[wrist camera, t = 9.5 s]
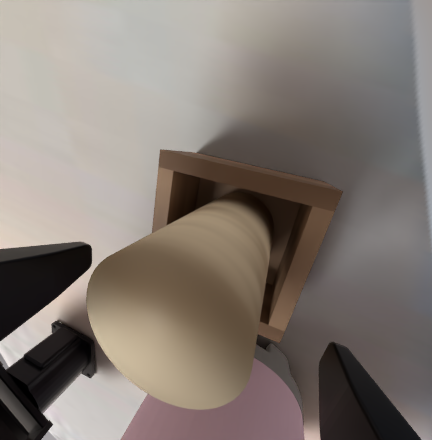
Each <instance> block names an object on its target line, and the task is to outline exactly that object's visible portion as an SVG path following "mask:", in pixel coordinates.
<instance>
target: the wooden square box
mask: <svg viewBox="0 0 432 440" xmlns="http://www.w3.org/2000/svg"><path fill="white" fill-rule="evenodd" d="M235 192H240V193H246V194H249V195H252V196H254V197H256V198H258V199H259V200H260V201H262V202H263V203H264V204H265V206H266V207H267V208H268V210H269V211H270V213H271V215H272V218H273V222H274V234H273V240H272V247H271V253H270V259H269V266H268V272H267V278H266V284H265V291H264V297H263V303H262V310H261V316H260V322H259V328H258V334H259V335H261V336H263V337H266V338H268V339H270V340H273V341H275V342H278V343H280V341H281V339H282V337H283V334H284V332H285V329H286V327H287V325H288V322H289V320H290V318H291V315H292V313H293V310H294V308H295V306H296V303H297V301H298V298H299V296H300V294H301V291H302V289H303V286H304V284H305V282H306V279H307V277H308V274H309V272H310V270H311V267H312V265H313V262H314V260H315V258H316V255H317V253H318V250H319V248H320V246H321V243H322V241H323V238H324V236H325V234H326V231H327V229H328V226H329V224H330V222H331V219H332V217H333V214H334V212H335V210H336V207H337V205H338V203H339V200H340V198H341V195H342V193H343V191H341V190H339V189H337V188H335V187H333V186H331V185H329V184H327V183H326V182H324V181H319V180H315V179H310V178H306V177H301V176H297V175H292V174H288V173H284V172H279V171H275V170H270V169H266V168H261V167H257V166H253V165H248V164H244V163H239V162H235V161H230V160H226V159H221V158H217V157H213V156H208V155H204V154H199V153H193V152H182V151H171V150H160V157H159V167H158V177H157V188H156V198H155V208H154V218H153V228H152V233H154V232H155V231H157V230H159V229H161V228H163V227H165V226H167V225H169V224H171V223H172V222H174V221H176V220H178V219H180V218H182V217H184V216H186V215H187V214H189V213H191V212H193V211H195V210H197V209H199V208H201V207H202V206H204V205H206V204H208V203H210V202H212V201H214V200H216V199H218V198H219V197H221V196H223V195H226V194H229V193H235Z"/></svg>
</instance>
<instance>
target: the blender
mask: <svg viewBox="0 0 432 440" xmlns="http://www.w3.org/2000/svg"><path fill="white" fill-rule="evenodd" d="M121 440H304V419H303V405H302V398H301V394H300V392H299V389H298V387H297V385H296V383H295V381H294V379H293V378H292V376H291V374H290V369H289V362H288V360H287V358H286V357H285V355H284V354H283V353H282V352H281V351H280V350H279V349H278V348H277V347H276V346H274V345H273V344H271V343H270V344H269V345H268V346H267V347H266V350H264V349H263V348H261V347H260V346H258V345H256V347H255V354H254V360H253V366H252V371H251V375H250V379H249V381H248V383H247V385H246V387H245V388H244V390H243V391H242V392H241V394H240V395H239V396H238V397H236V398H235V399H234V400H233V401H231V402H229V403H227V404H226V405H223V406H220V407H217V408H213V409H205V410H195V409H187V408H182V407H177V406H174V405H171V404H168V403H166V402H163V401H161V400H159V399H157V398H155V397H153V396H151V395H149V394H147V396H146V398H145V399H144V401H143V403H142V404H141V406H140V408H139V409H138V411H137V413H136V414H135V416H134V418H133V419H132V421H131V423H130V424H129V426H128V428H127V430H126V431H125V433H124V435H123V436H122V438H121Z"/></svg>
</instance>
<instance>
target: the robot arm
mask: <svg viewBox="0 0 432 440" xmlns="http://www.w3.org/2000/svg"><path fill="white" fill-rule="evenodd" d="M91 264H92V248H91V246H90V245H89V244H86V243H84V242H72V243H61V244H50V245H40V246H29V247H19V248H8V249H0V341H1V340H3V339H4V338H5V337H7V336H8V335H9V334H10V333H12V332H13V331H14V330H16V329H17V328H18V327H19V326H21V325H22V324H23V323H25V322H26V321H27V320H29V319H30V318H31V317H32V316H34V315H35V314H36V313H38V312H39V311H40V310H42V309H43V308H44V307H45V306H47V305H48V304H49V303H51V302H52V301H53V300H54V299H56V298H57V297H58V296H59V295H60V294H61V293H62V292H64V291H65V290H66V289H67V288H68V287H69V286H70V285H71V284H72V283H74V282H75V281H76V280H77V279H78V278H79V277H80V276H81V275H82V274H84V273H85V272H86V271H87V270H88V269H89V268H90V266H91ZM2 365H3V364H2V363H1V362H0V440H41V439H42V438H43V436H44V435H45V434H46V433H47V431H48V430H49V429H50V428H51V427H52V425H53V424H52V423H51V421H50V420H49V421H48V420H47V419H46V417H45V416H44V415H43V413H44V412H45V411H46V409H47V408H48V407H49V406H50V405H51V404H52V403H53V402H54V401H55V400H56V399H57V398H58V397H59V396H60V395H61V394H62V393H63V392H64V391H65V390H66V389H67V388H68V387H69V386H70V384H71V383H72V382H73V381H74V380H75V379H76V378H77V377H78V376H79V375H80V374H81V373H82V374H83V375H85V376H87V377H89V378H91V377H92V376H93V375H94V342H93V341H92V340H91V339H89V338H87V337H85V336H84V335H82V334H80V333H78V332H76V331H74V330H72V329H70V328H69V327H67V326H65V325H63V324H61V323H59V322H57V321H55V322H54V323H52V334H51V335H50V336H48V337H47V338H46V339H44V340H43V341H42V342H40V343H39V344H38V345H36V346H35V347H34V348H32V349H31V350H29V351H28V352H27V353H25V354H24V357H22V358H21V359H20V360H18V361H17V362H16V363H14V364H13V365H12V366H10V367H9V368H8V369H6V370H5V369H4V367H3V366H2ZM319 419H320V437H321V440H421V438H420V437H419V436H418V435H417V433H416V432H415V431H414V430H413V429H412V427H411V426H410V425H409V424H408V422H407V421H406V420H405V419H404V417H403V416H402V415H401V414H400V412H399V411H398V410H397V409H396V407H395V406H394V405H393V404H392V402H391V401H390V400H389V399H388V398H387V396H386V395H385V394H384V393H383V391H382V390H381V389H380V388H379V386H378V385H377V384H376V383H375V381H374V380H373V379H372V378H371V376H370V375H369V374H368V373H367V371H366V370H365V369H364V368H363V367H362V365H361V364H360V363H359V362H358V360H357V359H356V358H355V357H354V355H353V354H352V353H351V352H350V350H349V349H348V348H347V347H345V346H342V345H340V344H337V343H335V342H331V343H329V345H328V347H327V348H326V350H325V352H324V354H323V356H322V358H321V360H320V363H319Z"/></svg>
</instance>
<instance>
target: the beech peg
mask: <svg viewBox="0 0 432 440" xmlns="http://www.w3.org/2000/svg"><path fill="white" fill-rule="evenodd" d="M273 234H274V222H273V218H272V215H271V213H270V211H269V210H268V208H267V207H266V206H265V204H264V203H263V202H262V201H260V200H259V199H258V198H256V197H254V196H252V195H249V194H246V193H240V192H235V193H229V194H226V195H223V196H221V197H219V198H218V199H216V200H214V201H212V202H210V203H208V204H206V205H204V206H202V207H201V208H199V209H197V210H195V211H193V212H191V213H189V214H187V215H186V216H184V217H182V218H180V219H178V220H176V221H174V222H172V223H171V224H169V225H167V226H165V227H163V228H161V229H159V230H157V231H155V232H154V233H152V234H150V235H148V236H146V237H144V238H142V239H140V240H139V241H137V242H135V243H133V244H131V245H129V246H127V247H125V248H124V249H122V250H120V251H118V252H116V253H114V254H112V255H110V256H108V257H107V258H106V259H104V260H103V261H102V262H101V263H100V264H99V265H98V266H97V267H96V269H95V270H94V272H93V274H92V275H91V278H90V281H89V283H88V288H87V297H86V303H87V312H88V317H89V321H90V324H91V327H92V330H93V332H94V335H95V337H96V339H97V341H98V343H99V345H100V346H101V348H102V349H103V351H104V353H105V354H106V355H107V357H108V358H109V359H110V361H111V362H112V363H113V364H114V366H115V367H116V368H117V369H118V370H119V371H120V372H121V373H122V374H123V375H124V376H125V377H126V378H127V379H128V380H130V381H131V382H132V383H133V384H134V385H136V386H137V387H139V388H140V389H141V390H143V391H144V392H146V393H148V394H149V395H151V396H153V397H155V398H157V399H159V400H161V401H163V402H166V403H168V404H171V405H174V406H177V407H182V408H187V409H195V410H205V409H213V408H217V407H220V406H223V405H226V404H227V403H229V402H231V401H233V400H234V399H235V398H236V397H238V396H239V395H240V394H241V392H242V391H243V390H244V388H245V387H246V385H247V383H248V381H249V379H250V375H251V371H252V366H253V360H254V354H255V347H256V341H257V335H258V328H259V322H260V316H261V310H262V303H263V297H264V291H265V284H266V278H267V272H268V266H269V259H270V253H271V247H272V240H273Z"/></svg>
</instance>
